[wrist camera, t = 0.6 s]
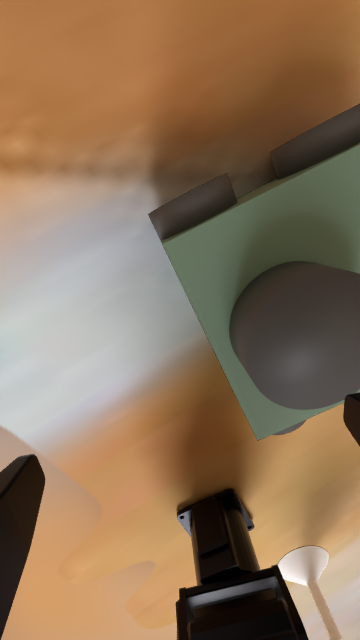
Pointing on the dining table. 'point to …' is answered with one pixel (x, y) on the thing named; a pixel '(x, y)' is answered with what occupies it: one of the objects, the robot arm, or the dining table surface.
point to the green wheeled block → (279, 276)
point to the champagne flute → (310, 579)
